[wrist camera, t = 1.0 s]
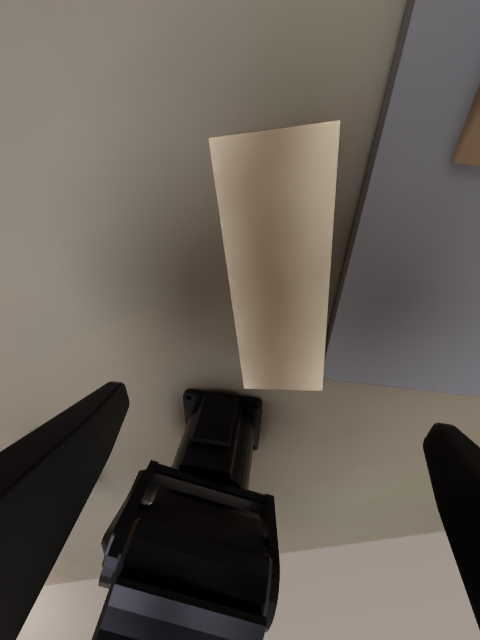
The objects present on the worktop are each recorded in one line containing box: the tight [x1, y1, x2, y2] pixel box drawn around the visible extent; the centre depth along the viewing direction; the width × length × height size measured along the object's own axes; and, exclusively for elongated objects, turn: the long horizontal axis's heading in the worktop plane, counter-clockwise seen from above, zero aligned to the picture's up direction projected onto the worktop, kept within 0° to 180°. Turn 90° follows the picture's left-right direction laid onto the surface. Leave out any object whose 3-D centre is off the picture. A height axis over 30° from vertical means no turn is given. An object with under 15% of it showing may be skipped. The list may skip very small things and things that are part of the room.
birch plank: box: [209, 120, 340, 391], centre depth 16 cm, size 5×14×3 cm, turn 6°
